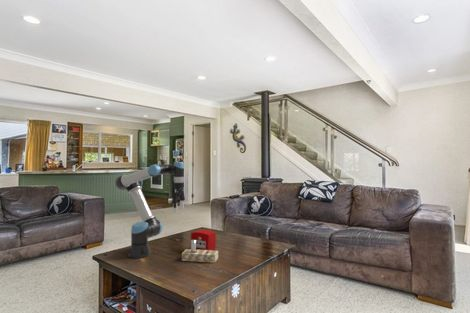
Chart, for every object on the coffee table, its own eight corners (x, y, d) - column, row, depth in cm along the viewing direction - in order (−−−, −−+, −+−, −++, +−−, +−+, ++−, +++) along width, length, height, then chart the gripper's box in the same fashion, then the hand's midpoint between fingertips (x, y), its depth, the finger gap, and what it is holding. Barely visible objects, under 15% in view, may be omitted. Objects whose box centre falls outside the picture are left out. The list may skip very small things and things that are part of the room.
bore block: (181, 260, 194) (181, 253, 194) (186, 255, 204) (186, 248, 204) (215, 262, 191) (215, 255, 191) (218, 257, 200) (218, 250, 201)
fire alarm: (190, 250, 216) (190, 231, 216) (198, 247, 225) (198, 228, 225) (208, 254, 208) (208, 234, 208) (215, 250, 218) (215, 231, 218)
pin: (190, 257, 197) (190, 240, 197) (191, 256, 200) (191, 239, 200) (195, 258, 196) (195, 241, 196) (196, 256, 200) (196, 239, 200)
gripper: (177, 183, 195) (177, 213, 195) (188, 181, 220) (188, 208, 220) (167, 183, 196) (167, 213, 196) (179, 181, 221) (179, 207, 221)
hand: (178, 210), depth 208 cm, fingers open, 13 cm apart
